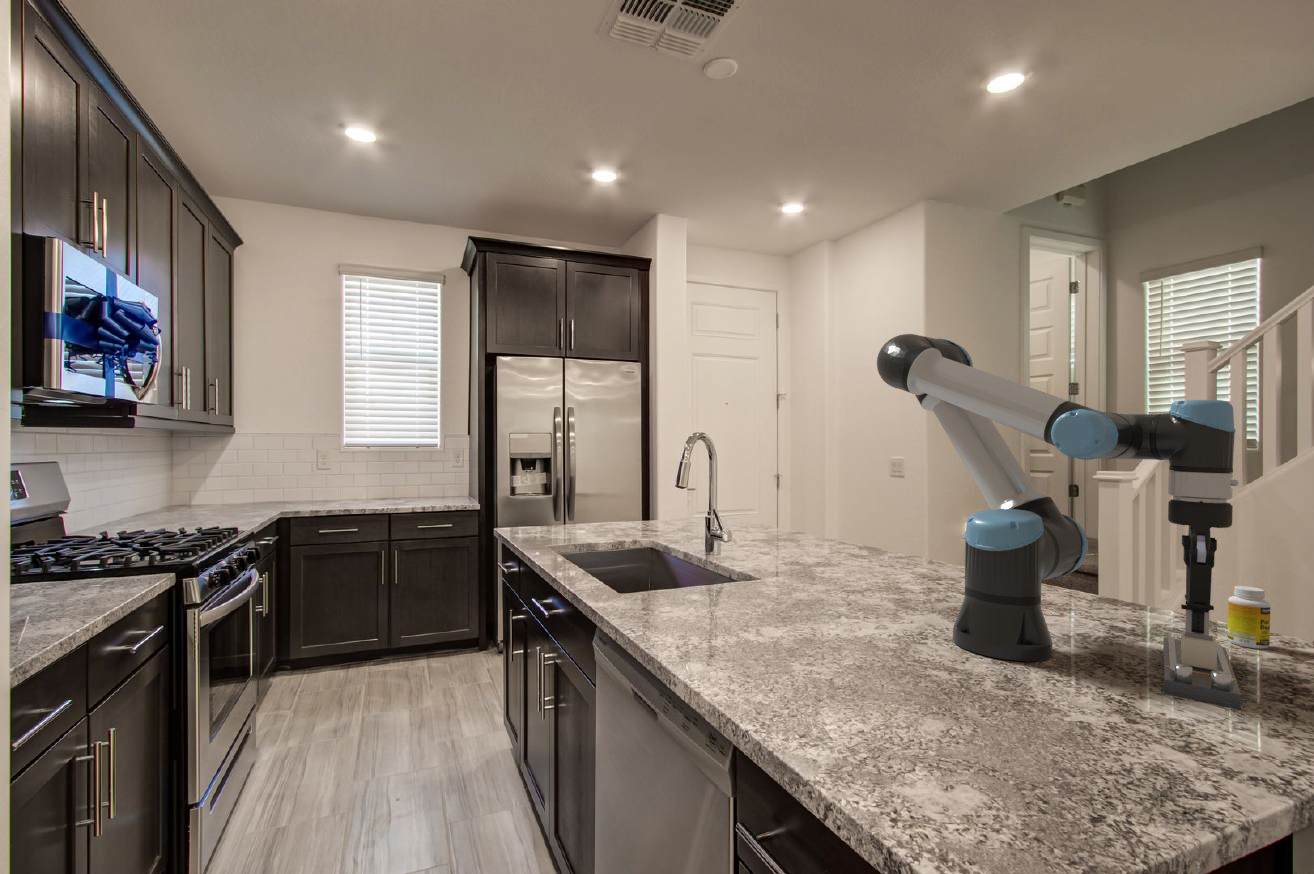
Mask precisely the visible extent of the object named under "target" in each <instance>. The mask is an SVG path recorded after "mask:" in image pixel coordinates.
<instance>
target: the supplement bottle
mask: <svg viewBox="0 0 1314 874" xmlns="http://www.w3.org/2000/svg"><path fill="white" fill-rule="evenodd" d="M1265 595H1266V594H1265V590H1264V589H1262V588H1259V587H1254V586H1253V587H1252V586H1246V585H1235V586H1234V589H1233V595H1232V596H1229V597H1228V599H1227V640H1228V641H1229V642H1230V643H1231V644H1234V645H1236V646H1241V647H1245V648H1249V649H1255V650H1256V649H1257V650H1259V649H1260V650H1264V649H1265V650H1266V649H1268V648H1269V647H1270V642H1271V637H1270V636H1271V603H1270V602H1269V601H1267V600H1265V597H1266V596H1265Z"/></svg>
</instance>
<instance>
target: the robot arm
mask: <svg viewBox="0 0 1314 874" xmlns="http://www.w3.org/2000/svg"><path fill="white" fill-rule="evenodd" d="M876 359H877V360H876V368H877V372H878V375H879V376H880V378H881V379H882V381H883V382H884V383H885V384H887V385H888V386H890V387H891V388H895V389H899V390H902V391H904V392H907V393H910V394H912V395H914V396H915V397H916V399H917V402H919V404H920V406H921V408H922V409H923V410H925V411H926V410H927V411H930V412H931V411H932V412H933V414H934V415H935V417H936V418H937V420H938V422H939V424H940V425H941V427H942V429H943V430H944V432H945V434H946V435H947V437H948V439H949V440H950V442H951V444H952V445H953V447H954V449H955V450H956V452H957V454H958V455H959V457H960V459H961V461H962V463H963V464H964V467H965V468H966V469H967V471H968V472H969V474H970V476H971V478H972V479H973V481H974V483H975V484H976V486H977V488H978V489H979V491H980V493H981V495H982V496H983V499H984V500H985V502H986V503H987V505H988V506H989V508H990V509H983V510H979V511H976V512H973V513H971V514H970V515H969V516H968V517H967V519H966V523H965V524H966V525H965V526H966V527H965V531H964V542H965V543H964V544H965V545H964V546H965V547H964V596H963V601H962V604H961V605H960V608H959V611H958V614H957V616H956V619H955V621H954V624H953V628H952V641H953V643H954V644H955V645H957V646H959V647H960V648H962V649H964V650H966V651H969V652H973V653H974V654H978V655H983V656H985V657H991V658H994V659H1001V660H1007V661H1017V662H1018V661H1019V662H1041V661H1046V660H1048V659H1051V658H1052V657H1053V639H1052V636H1051V634H1050V631H1049V627H1048V624H1047V622H1046V617H1045V616H1044V612H1043V610H1042V581H1044V580H1050V579H1059V578H1062V577H1064V576H1067V575H1069V574H1071V573H1072V572H1075V571H1076V570H1078V569H1079V568H1080V567H1081V566H1082V564H1084V562H1085V560H1086V557H1087V554H1088V551H1089V543H1088V537H1087V534H1086V532H1085V530H1084V528H1083V527H1082V526H1081V525H1080V524H1079V523H1078V521H1076V519H1073V518H1072V517H1070V516H1068V515H1066V514H1064V513H1062V512H1061V511H1060V509H1059V508H1058V506H1057V505H1056V503H1055V502H1054V500H1053V498H1052V496H1050V495H1049V494H1045V493H1041V492H1039V491H1037V489H1036V488H1035V487H1034V485H1033V484H1032V481H1031V480H1030V479H1029V477H1028V475H1027V474H1026V472H1025V471H1024V469H1023V468H1022V466H1021V465H1020V463H1019V461H1018V460H1017V458H1016V456H1015V455H1014V453H1013V451H1012V450H1011V449H1010V447H1009V445H1008V444H1007V442H1006V441H1005V439H1004V438H1003V436H1002V434H1001V433H1000V432H999V430H998V428H997V427H996V425H995V423H994V422H996V423H998V424H1000V425H1003V426H1005V427H1007V428H1011V429H1013V430H1015V431H1018V432H1020V433H1023V434H1025V435H1027V436H1031V438H1032V437H1033V438H1035V439H1038V440H1040V441H1043V442H1045V443H1048V444H1049V445H1052V446H1053V447H1055V448H1056V449H1057V450H1058V451H1059V452H1060V453H1062V454H1063V455H1065V456H1068V457H1071V458H1075V459H1078V460H1085V461H1087V460H1089V461H1090V460H1097V459H1099V460H1101V459H1102V460H1155V461H1168V463H1169V466H1168V469H1169V470H1168V484H1167V485H1168V487H1167V488H1168V490H1167V494H1168V495H1169V496H1170V497H1172V499H1170V500H1168V507H1167V509H1168V511H1167V520H1168V522H1169V523H1171V524H1174V525H1180V526H1188V531H1187V532H1188V534H1187V535H1185V534H1181V545H1182V547H1183V558H1182V559H1183V562H1184V564H1185V569H1186V570H1185V574H1186V575H1185V594H1184V599H1185V604H1183V603H1181V604H1180V605H1181V610H1185V620H1184V621H1185V623H1184V624H1185V625H1184V626H1185V627H1184V630H1185V631H1184V633H1185V632H1190V633H1197V634H1203V635H1209V636H1210V611H1214V610H1215V609H1214V607H1215V606H1214V605H1212V604H1211V599H1212V598H1211V597H1212V596H1211V595H1212V593H1211V592H1212V575H1213V568H1214V567H1215V555H1216V554H1215V553H1216V551H1217V550H1218V540H1217V539H1216V538H1215V537H1211V529H1212V528H1215V529H1216V528H1217V529H1227V528H1228V529H1229V528H1231V527H1232V525H1233V510H1234V509H1233V508H1234V506H1233V505H1231V502H1230V503H1229V502H1227V501H1228V500H1231V499H1233V488H1232V487H1237V486H1239V481H1238V479H1232V478H1233V473H1234V450H1235V449H1234V448H1235V447H1234V446H1235V433H1236V428H1235V420H1234V419H1235V418H1234V417H1235V415H1234V407H1233V405H1232V404H1231V402H1230V401H1227V400H1221V399H1189V400H1176V401H1174V402H1172V403H1171V404H1170V409H1169V411H1168V412H1165V413H1158V414H1157V413H1154V414H1153V413H1152V414H1149V413H1145V414H1143V413H1140V414H1139V413H1135V414H1134V413H1133V414H1132V413H1131V414H1129V413H1117V412H1106V411H1100V410H1098V409H1094V408H1091V407H1088V406H1085V405H1084V404H1083V405H1082V404H1079V403H1076V402H1074V401H1073V402H1072V401H1070V400H1067V399H1064V398H1061V397H1059V396H1056V395H1052V394H1050V393H1049V392H1048V393H1047V392H1044V391H1041V390H1038V389H1036V388H1032V387H1030V386H1028V385H1024V384H1021V383H1019V382H1015V381H1013V380H1010V379H1007V378H1004V377H1001V376H999V375H996V374H993V373H990V372H987V371H984V370H982V369H981V370H980V369H979V368H976V367H974V365H973V361H972V358H971V356H970V354H969V353H968V351H967V350H966V348H964V347H963V346H962V345H960V344H958V343H956V342H953V341H951V340H948V339H945V338H933V337H930V336H929V337H928V336H923V335H918V334H916V333H914V334H913V333H904V334H899V335H896V336H894V337H892V338H890V339H888V340H887V341H886V342H885V343H884V344H883V345H882V346H881V348H880V350H879V351H878V355H877V358H876Z"/></svg>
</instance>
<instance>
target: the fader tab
mask: <svg viewBox="0 0 1314 874" xmlns="http://www.w3.org/2000/svg"><path fill="white" fill-rule="evenodd" d="M1180 640H1181V664H1184V665H1190V666H1195V667H1201V668H1206V669H1211V670H1217V644H1218V643H1217V642H1218V641H1217V640H1216V638H1214V636H1213V635H1210V634H1209V635H1203V634H1197V633H1190V632H1185V631H1184V633H1183V632H1182V633H1180Z"/></svg>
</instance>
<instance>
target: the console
mask: <svg viewBox="0 0 1314 874" xmlns="http://www.w3.org/2000/svg"><path fill="white" fill-rule="evenodd" d="M1162 641H1163V646H1162V648H1163V649H1162V652H1163V679H1164V680H1163V683H1164V694H1165V695H1169V696H1174V697H1179V698H1183V699H1190V700H1194V701H1198V702H1203V703H1208V704H1212V705H1216V706H1222V707H1227V708H1231V709H1236V710H1242V693H1241V690H1240V686H1239V684H1238V680H1237V679H1236V675H1235V672H1234V670H1233V666H1232V664H1231V663H1232V662H1231V660H1230V658H1229V655H1228V652H1227V648H1226V647H1224V646H1223V645H1222V644H1218V643H1217V670H1211V669H1206V668H1201V667H1195V666H1190V665H1184V664H1181V639H1176V638H1175V637H1174V636H1167V637H1163V640H1162Z"/></svg>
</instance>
